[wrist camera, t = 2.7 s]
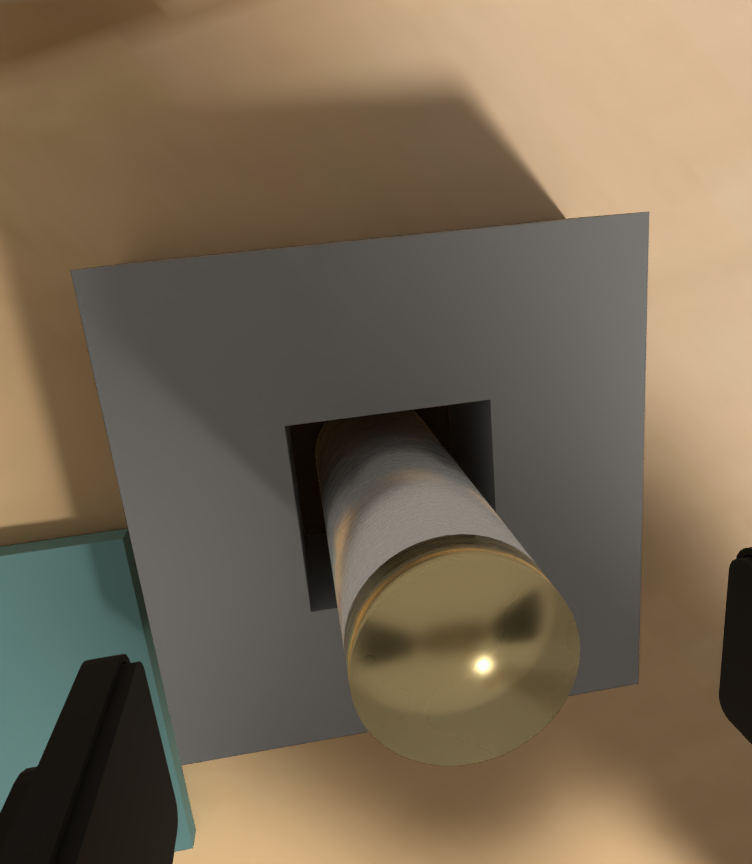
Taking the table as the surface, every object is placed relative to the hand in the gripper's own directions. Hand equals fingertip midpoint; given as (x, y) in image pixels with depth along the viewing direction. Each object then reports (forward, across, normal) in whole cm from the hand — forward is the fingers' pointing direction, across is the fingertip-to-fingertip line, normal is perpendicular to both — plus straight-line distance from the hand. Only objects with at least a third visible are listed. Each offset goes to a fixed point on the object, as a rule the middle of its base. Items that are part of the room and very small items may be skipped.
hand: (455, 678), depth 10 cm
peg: (+13, -1, +1) cm, 13 cm away
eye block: (+13, -1, +1) cm, 13 cm away
